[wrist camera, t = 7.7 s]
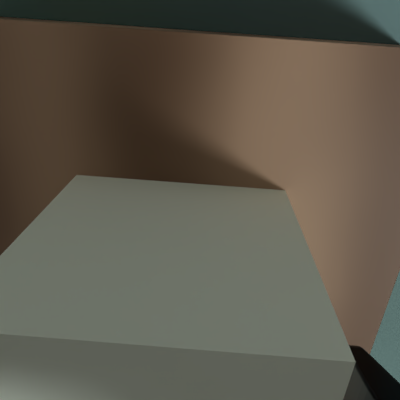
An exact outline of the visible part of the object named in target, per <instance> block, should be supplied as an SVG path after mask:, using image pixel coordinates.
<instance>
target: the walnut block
mask: <svg viewBox="0 0 400 400" xmlns="http://www.w3.org/2000/svg"><path fill="white" fill-rule="evenodd" d="M76 175H85V176H98V177H112V178H125V179H139V180H152V181H166V182H179V183H193V184H206V185H220V186H234V187H247V188H261V189H274V190H285V191H286V194H287V196H288V198H289V201H290V203H291V206H292V208H293V211H294V213H295V215H296V218H297V220H298V223H299V225H300V228H301V230H302V232H303V235H304V237H305V240H306V242H307V245H308V247H309V250H310V252H311V254H312V257H313V259H314V262H315V264H316V267H317V269H318V271H319V274H320V276H321V279H322V281H323V284H324V286H325V288H326V291H327V293H328V296H329V298H330V301H331V303H332V306H333V308H334V310H335V313H336V315H337V318H338V320H339V323H340V325H341V327H342V330H343V332H344V335H345V337H346V340H347V342H348V344H349V345H356V346H360V347H362V348H363V349H364V350H365V351H366V352H368V353H369V354H370V352H371V349H372V346H373V343H374V341H375V338H376V335H377V332H378V329H379V326H380V324H381V321H382V318H383V315H384V312H385V310H386V307H387V304H388V301H389V298H390V295H391V293H392V290H393V287H394V284H395V281H396V279H397V276H398V273H399V270H400V45H393V44H379V43H365V42H351V41H337V40H322V39H308V38H294V37H280V36H266V35H252V34H237V33H223V32H209V31H195V30H181V29H167V28H152V27H138V26H124V25H110V24H96V23H82V22H67V21H53V20H39V19H25V18H11V17H0V255H1V254H2V253H3V252H4V251H5V250H6V249H7V248H8V247H9V246H10V245H11V244H12V243H13V242H14V241H15V240H16V238H17V237H18V236H19V235H20V234H21V233H22V232H23V231H24V230H25V229H26V228H27V227H28V226H29V225H30V224H31V223H32V222H33V220H34V219H35V218H36V217H37V216H38V215H39V214H40V213H41V212H42V211H43V210H44V209H45V208H46V207H47V206H48V205H49V204H50V202H51V201H52V200H53V199H54V198H55V197H56V196H57V195H58V194H59V193H60V192H61V191H62V190H63V189H64V188H65V187H66V186H67V185H68V183H69V182H70V181H71V180H72V179H73V178H74V177H75V176H76Z"/></svg>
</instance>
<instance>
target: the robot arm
mask: <svg viewBox="0 0 400 400" xmlns="http://www.w3.org/2000/svg"><path fill="white" fill-rule="evenodd" d="M349 347H350V349H351V352H352V354H353V357H354V359H355V361H356V363H355V366H354V369H353V372H352V375H351V378H350V381H349V384H348V387H347V390H346V393H345V396H344V399H343V400H400V383H399V382H398V381H397V380H396V379H395V378H393V377H392V376H391V375H390V374H389V373H388V372H387V371H386V370H385V369H384V368H383V367H382V366H381V365H380V364H379V363H378V362H377V361H376V360H375V359H374V358H373V357H372V356H371V355H370V354H369V353H368V352H366V351H365V350H364V349H363V348H362V347H360V346H356V345H349Z"/></svg>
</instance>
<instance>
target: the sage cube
mask: <svg viewBox="0 0 400 400" xmlns="http://www.w3.org/2000/svg"><path fill="white" fill-rule="evenodd" d="M355 363H356V361H355V359H354V357H353V354H352V352H351V349H350V347H349V344H348V342H347V340H346V337H345V335H344V332H343V330H342V327H341V325H340V323H339V320H338V318H337V315H336V313H335V310H334V308H333V306H332V303H331V301H330V298H329V296H328V293H327V291H326V288H325V286H324V284H323V281H322V279H321V276H320V274H319V271H318V269H317V267H316V264H315V262H314V259H313V257H312V254H311V252H310V250H309V247H308V245H307V242H306V240H305V237H304V235H303V232H302V230H301V228H300V225H299V223H298V220H297V218H296V215H295V213H294V211H293V208H292V206H291V203H290V201H289V198H288V196H287V194H286V191H285V190H274V189H261V188H247V187H234V186H220V185H206V184H193V183H179V182H166V181H152V180H139V179H125V178H112V177H98V176H85V175H76V176H75V177H74V178H73V179H72V180H71V181H70V182H69V183H68V185H67V186H66V187H65V188H64V189H63V190H62V191H61V192H60V193H59V194H58V195H57V196H56V197H55V198H54V199H53V200H52V201H51V202H50V204H49V205H48V206H47V207H46V208H45V209H44V210H43V211H42V212H41V213H40V214H39V215H38V216H37V217H36V218H35V219H34V220H33V222H32V223H31V224H30V225H29V226H28V227H27V228H26V229H25V230H24V231H23V232H22V233H21V234H20V235H19V236H18V237H17V238H16V240H15V241H14V242H13V243H12V244H11V245H10V246H9V247H8V248H7V249H6V250H5V251H4V252H3V253H2V254H1V255H0V400H343V399H344V396H345V393H346V390H347V387H348V384H349V381H350V378H351V375H352V372H353V369H354V366H355Z"/></svg>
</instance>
